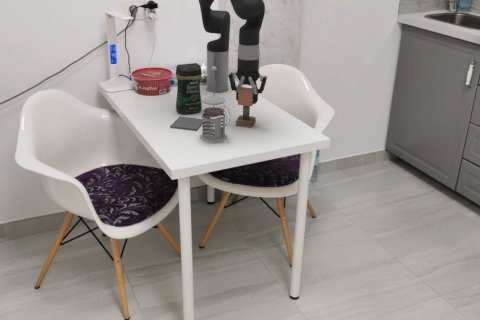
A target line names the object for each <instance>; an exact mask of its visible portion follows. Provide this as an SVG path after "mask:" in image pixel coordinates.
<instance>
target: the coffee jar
mask: <svg viewBox="0 0 480 320" xmlns="http://www.w3.org/2000/svg"><path fill="white" fill-rule="evenodd" d="M202 76H203V75H202V67H201V65H200V64H199V63H197V62H195V63H194V62H193V63H184V64H177V65H176V68H175V77H176V80H177V88H176V89H177V91H176V100H175V102H176V103H175V109H176V112H178V113H179V114H183V115H189V114H196V113H200V112H202V111H203V110H202V95H201V86H200V85H201V78H202Z"/></svg>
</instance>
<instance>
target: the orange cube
mask: <svg viewBox="0 0 480 320" xmlns="http://www.w3.org/2000/svg"><path fill="white" fill-rule="evenodd" d="M253 94H254V92H253V89H252V87H246V86H242V88H241V89H240V90H239V91H238V101H237V105H238V106H243V105H244V106H250V107H252V106H253V105H254V104H253Z"/></svg>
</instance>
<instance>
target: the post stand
mask: <svg viewBox="0 0 480 320" xmlns="http://www.w3.org/2000/svg"><path fill="white" fill-rule="evenodd" d="M250 108H251V106H244V105H242V114H240V115H238V117H237V118H236V120H235V126H236V127H244V128H253V127H254V125H255V124H256V120H257V118H256V117H257V116H252V115H250V112H251V111H250Z"/></svg>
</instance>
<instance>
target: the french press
mask: <svg viewBox="0 0 480 320" xmlns="http://www.w3.org/2000/svg"><path fill="white" fill-rule="evenodd" d="M211 70H212V71H216V70H217V68H216V67H212V68H211ZM226 100H227V99H226V98H225V97H224V96H222V95H220V94H217V93H216V94H215V92H214V87H213V92H212V93H211V94H207V95H205V96H203V97H201V102H202V103H204V104H206V105H210V106H212V107H210V106H208V107H206V108H204V109H203V110H202V112H203V113H202V115H201V119H202V125H201V129H202V130H201V132H202V133H201V134H200V135H199V137H198V138H199V139H200V140H201V141H202V142H205V143H210V144H216V143H217V144H218V143H223V142H226V140H228V137H229V136H228V135H227V134H226V127H227V126H228V125H230V122H231V119H229V122H228V115H227V112H226V110H225V108H226V109H227V111H228V114H229V116H231V112H230V109H229V108H228V107H227V106H226V105H223V107H222V106H220V107H217V106H218V105H222V104H224V103H225V102H226ZM215 105H216V106H215ZM215 117H216V118H215Z"/></svg>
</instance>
